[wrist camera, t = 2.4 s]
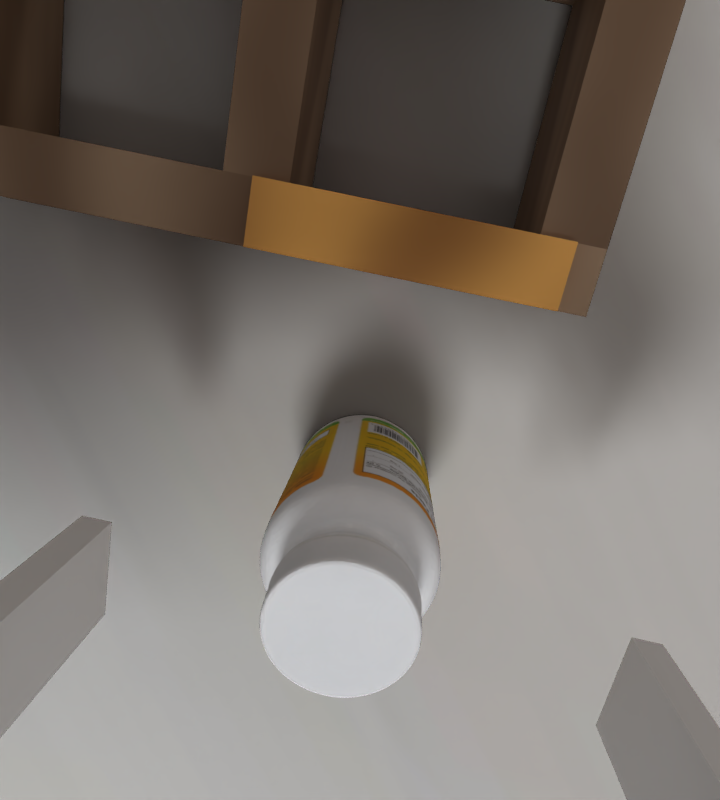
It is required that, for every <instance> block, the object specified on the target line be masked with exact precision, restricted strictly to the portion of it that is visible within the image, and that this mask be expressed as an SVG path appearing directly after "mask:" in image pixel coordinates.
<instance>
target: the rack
mask: <svg viewBox="0 0 720 800" xmlns="http://www.w3.org/2000/svg"><path fill="white" fill-rule="evenodd" d="M547 1H552V2H557V3H562V4H567V5H572V10H571V14H570V18H569V21H568V25H567V29H566V33H565V36H564V40H563V44H562V48H561V51H560V55H559V59H558V63H557V67H556V70H555V74H554V78H553V82H552V85H551V89H550V93H549V97H548V101H547V104H546V108H545V112H544V116H543V119H542V123H541V127H540V131H539V134H538V138H537V142H536V146H535V150H534V153H533V157H532V161H531V165H530V168H529V172H528V176H527V180H526V184H525V187H524V191H523V195H522V199H521V202H520V206H519V210H518V214H517V217H516V221H515V225H514V229H512V228H508V227H503V226H498V225H493V224H488V223H483V222H478V221H473V220H469V219H464V218H459V217H454V216H449V215H444V214H439V213H434V212H430V211H425V210H420V209H415V208H410V207H405V206H400V205H395V204H390V203H386V202H381V201H376V200H371V199H366V198H361V197H356V196H351V195H347V194H342V193H337V192H332V191H327V190H322V189H317V188H312V186H313V180H314V174H315V167H316V161H317V155H318V149H319V142H320V136H321V130H322V124H323V118H324V111H325V105H326V99H327V93H328V87H329V80H330V74H331V68H332V62H333V55H334V49H335V43H336V37H337V31H338V24H339V18H340V12H341V6H342V0H243V1H242V10H241V18H240V27H239V36H238V44H237V53H236V61H235V70H234V79H233V87H232V96H231V105H230V113H229V122H228V130H227V139H226V148H225V156H224V165H223V170H218V169H213V168H208V167H203V166H198V165H194V164H189V163H184V162H179V161H174V160H169V159H164V158H159V157H154V156H150V155H145V154H140V153H135V152H130V151H125V150H120V149H115V148H111V147H106V146H101V145H96V144H91V143H86V142H81V141H76V140H72V139H67V138H62V137H59V123H60V95H61V67H62V39H63V11H64V0H0V196H2V197H7V198H12V199H17V200H21V201H26V202H31V203H36V204H41V205H46V206H51V207H55V208H60V209H65V210H70V211H75V212H80V213H85V214H89V215H94V216H99V217H104V218H109V219H114V220H118V221H123V222H128V223H133V224H138V225H143V226H148V227H152V228H157V229H162V230H167V231H172V232H177V233H182V234H186V235H191V236H196V237H201V238H206V239H211V240H216V241H220V242H225V243H230V244H235V245H240V246H243V247H247V248H252V249H257V250H262V251H267V252H272V253H276V254H281V255H286V256H291V257H296V258H301V259H306V260H310V261H315V262H320V263H325V264H330V265H335V266H339V267H344V268H349V269H354V270H359V271H364V272H369V273H373V274H378V275H383V276H388V277H393V278H398V279H403V280H407V281H412V282H417V283H422V284H427V285H432V286H437V287H441V288H446V289H451V290H456V291H461V292H466V293H470V294H475V295H480V296H485V297H490V298H495V299H500V300H504V301H509V302H514V303H519V304H524V305H529V306H534V307H538V308H543V309H548V310H553V311H560V312H565V313H570V314H575V315H579V316H584V317H586V315H587V312H588V309H589V306H590V303H591V300H592V296H593V293H594V290H595V287H596V284H597V281H598V277H599V274H600V271H601V268H602V265H603V261H604V258H605V255H606V252H607V249H608V246H609V242H610V239H611V236H612V233H613V230H614V227H615V223H616V220H617V217H618V214H619V211H620V208H621V204H622V201H623V198H624V195H625V192H626V189H627V185H628V182H629V179H630V176H631V173H632V170H633V166H634V163H635V160H636V157H637V154H638V150H639V147H640V144H641V141H642V138H643V135H644V131H645V128H646V125H647V122H648V119H649V116H650V112H651V109H652V106H653V103H654V100H655V97H656V93H657V90H658V87H659V84H660V81H661V78H662V74H663V71H664V68H665V65H666V62H667V59H668V55H669V52H670V49H671V46H672V43H673V40H674V36H675V33H676V30H677V27H678V24H679V20H680V17H681V14H682V11H683V8H684V5H685V1H686V0H547Z"/></svg>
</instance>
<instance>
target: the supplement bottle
mask: <svg viewBox="0 0 720 800" xmlns="http://www.w3.org/2000/svg"><path fill="white" fill-rule="evenodd" d="M260 571H261V577H262V581H263V584H264V587H265V590H266V592H267V593H266V596H265V599H264V602H263V605H262V608H261V614H260V635H261V639H262V643H263V646H264V648H265V651H266V653H267V655H268V657H269V658H270V660H271V661H272V663H273V664H274V666H275V667H276V668H277V669H278V670H279V671H280V672H281V673H282V674H283V675H284V676H285V677H286V678H288V679H289V680H290V681H292V682H293V683H295V684H296V685H298V686H300V687H302V688H304V689H306V690H308V691H311V692H314V693H317V694H321V695H325V696H329V697H336V698H353V697H359V696H365V695H370V694H373V693H375V692H378V691H380V690H383V689H385V688H387V687H388V686H390V685H392V684H393V683H395V682H396V681H397V680H398V679H400V678H401V677H402V676H403V675H404V674H405V673H406V672H407V670H408V669H409V668H410V667H411V665H412V664H413V662H414V660H415V658H416V656H417V654H418V651H419V648H420V644H421V637H422V617H423V615H424V614H425V613H426V612H427V610H428V608H429V607H430V605H431V603H432V601H433V599H434V597H435V594H436V592H437V589H438V585H439V579H440V571H441V559H440V547H439V541H438V535H437V531H436V525H435V519H434V512H433V506H432V500H431V494H430V488H429V482H428V476H427V470H426V465H425V462H424V459H423V456H422V453H421V451H420V450H419V448H418V446H417V445H416V443H415V442H414V440H413V439H412V438H411V437H410V436H409V435H408V434H407V433H406V432H405V431H404V430H403V429H401V428H400V427H398V426H397V425H395V424H394V423H392V422H389V421H387V420H385V419H382V418H379V417H375V416H368V415H354V416H347V417H343V418H340V419H337V420H335V421H333V422H331V423H329V424H327V425H325V426H324V427H322V428H321V429H320V430H319V431H317V432H316V433H315V434H314V435H313V436H312V437H311V439H310V440H309V441H308V442H307V444H306V446H305V447H304V449H303V451H302V453H301V454H300V457H299V459H298V461H297V463H296V466H295V468H294V470H293V472H292V474H291V477H290V479H289V481H288V483H287V485H286V487H285V489H284V491H283V493H282V496H281V498H280V500H279V502H278V504H277V506H276V508H275V510H274V512H273V514H272V516H271V519H270V521H269V523H268V526H267V529H266V531H265V534H264V537H263V540H262V545H261V550H260Z"/></svg>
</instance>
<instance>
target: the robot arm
mask: <svg viewBox="0 0 720 800" xmlns="http://www.w3.org/2000/svg"><path fill="white" fill-rule="evenodd" d="M111 526H112V522H108V521H104V520H99V519H95V518H90V517H86V516H81V517H80V518H79V519H77V520H76V521H75V522H74V523H72V524H71V525H70V526H69V527H67V528H66V529H65V530H64V531H62V532H61V533H60V534H59V535H57V536H56V537H55V538H54V539H52V540H51V541H50V542H49V543H47V544H46V545H45V546H44V547H42V548H41V549H40V550H38V551H37V552H36V553H35V554H33V555H32V556H31V557H30V558H28V559H27V560H26V561H25V562H23V563H22V564H21V565H20V566H18V567H17V568H16V569H15V570H13V571H12V572H11V573H10V574H8V575H7V576H6V577H4V578H3V579H2V580H1V581H0V738H1V737H2V735H3V734H4V733H5V732H6V731H7V729H8V728H9V727H10V726H11V725H12V724H13V722H14V721H15V720H16V719H17V718H18V716H19V715H20V714H21V713H22V712H23V711H24V709H25V708H26V707H27V706H28V705H29V703H30V702H31V701H32V700H33V699H34V698H35V696H36V695H37V694H38V693H39V692H40V690H41V689H42V688H43V687H44V686H45V684H46V683H47V682H48V681H49V680H50V679H51V677H52V676H53V675H54V674H55V673H56V671H57V670H58V669H59V668H60V667H61V666H62V664H63V663H64V662H65V661H66V660H67V658H68V657H69V656H70V655H71V654H72V652H73V651H74V650H75V649H76V648H77V647H78V645H79V644H80V643H81V642H82V641H83V639H84V638H85V637H86V636H87V635H88V634H89V632H90V631H91V630H92V629H93V628H94V626H95V625H96V624H97V623H98V622H99V620H100V619H101V618H102V617H103V616H104V615H105V606H106V592H107V579H108V566H109V552H110V539H111ZM596 727H597V729H598V731H599V734H600V736H601V739H602V741H603V743H604V746H605V748H606V751H607V753H608V756H609V758H610V760H611V763H612V765H613V768H614V770H615V772H616V775H617V777H618V780H619V782H620V784H621V787H622V789H623V792H624V794H625V796H626V799H627V800H720V728H719V727H718V725H717V724H716V722H715V721H714V719H713V718H712V716H711V715H710V713H709V712H708V710H707V709H706V707H705V706H704V704H703V703H702V702H701V700H700V699H699V697H698V696H697V694H696V693H695V691H694V690H693V688H692V687H691V685H690V684H689V682H688V681H687V679H686V678H685V676H684V675H683V673H682V672H681V671H680V669H679V668H678V666H677V665H676V663H675V662H674V660H673V659H672V657H671V656H670V654H669V653H668V651H667V650H666V648H665V647H664V645H663V644H658V643H654V642H649V641H645V640H640V639H636V638H631V640H630V643H629V645H628V648H627V650H626V653H625V655H624V658H623V660H622V662H621V665H620V667H619V670H618V672H617V675H616V677H615V680H614V682H613V685H612V687H611V689H610V692H609V694H608V697H607V699H606V702H605V704H604V707H603V709H602V711H601V714H600V716H599V719H598V721H597V724H596Z"/></svg>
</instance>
